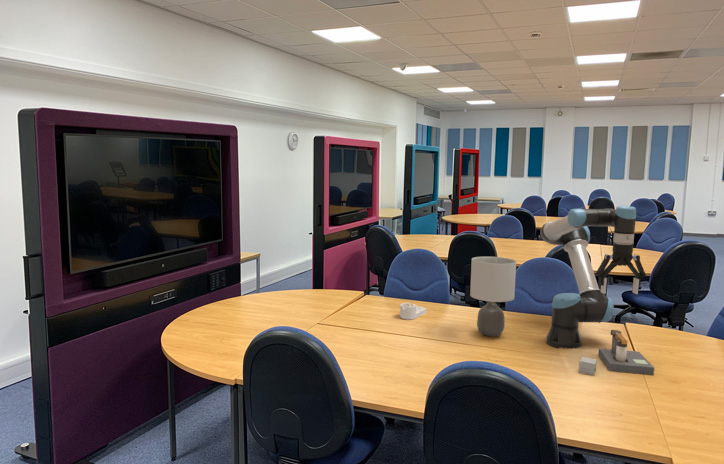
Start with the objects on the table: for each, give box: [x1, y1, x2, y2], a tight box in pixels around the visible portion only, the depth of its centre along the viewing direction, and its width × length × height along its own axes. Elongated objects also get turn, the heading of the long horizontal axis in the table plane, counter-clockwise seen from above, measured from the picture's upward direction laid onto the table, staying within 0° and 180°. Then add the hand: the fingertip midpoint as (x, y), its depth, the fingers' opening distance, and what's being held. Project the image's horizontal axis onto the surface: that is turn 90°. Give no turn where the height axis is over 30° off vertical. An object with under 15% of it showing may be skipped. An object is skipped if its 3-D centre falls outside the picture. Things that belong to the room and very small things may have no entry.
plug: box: [615, 341, 628, 362], centre depth 203 cm, size 4×4×10 cm
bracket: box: [399, 302, 427, 320], centre depth 273 cm, size 20×9×7 cm, turn 145°
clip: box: [610, 329, 628, 345], centre depth 206 cm, size 4×14×2 cm, turn 168°
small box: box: [578, 356, 598, 376], centre depth 197 cm, size 6×6×5 cm
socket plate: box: [597, 335, 655, 376], centre depth 205 cm, size 16×18×10 cm
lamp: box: [469, 256, 517, 337], centre depth 240 cm, size 21×21×37 cm
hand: (619, 293), depth 209 cm, fingers open, 13 cm apart
